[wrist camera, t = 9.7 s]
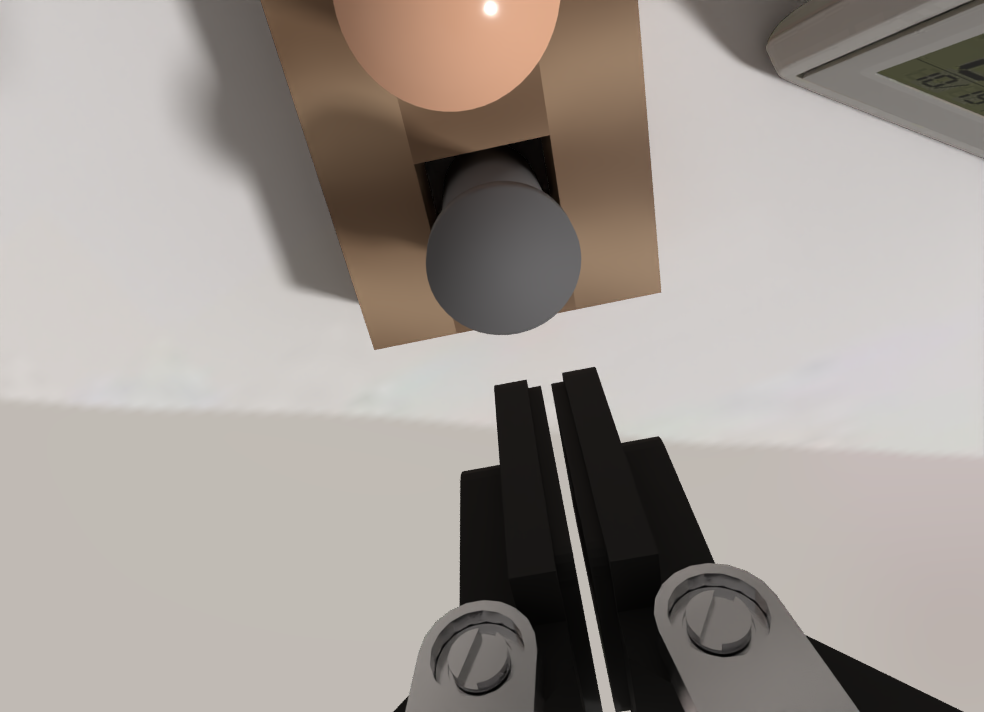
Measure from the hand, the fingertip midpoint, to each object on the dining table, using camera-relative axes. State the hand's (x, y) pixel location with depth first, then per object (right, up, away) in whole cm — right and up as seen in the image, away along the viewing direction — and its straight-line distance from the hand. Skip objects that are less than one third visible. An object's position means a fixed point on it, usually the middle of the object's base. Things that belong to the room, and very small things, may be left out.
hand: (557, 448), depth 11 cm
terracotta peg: (-3, +13, +11) cm, 17 cm away
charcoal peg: (-1, +9, +17) cm, 19 cm away
